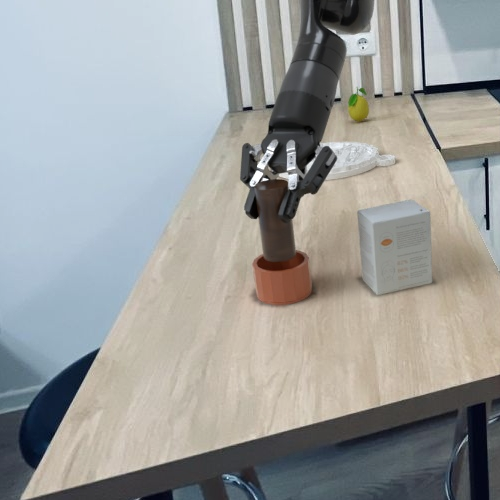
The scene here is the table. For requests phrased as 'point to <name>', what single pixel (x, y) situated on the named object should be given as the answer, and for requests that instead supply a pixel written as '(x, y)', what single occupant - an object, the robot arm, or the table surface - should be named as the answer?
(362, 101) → the lemon
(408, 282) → the small box
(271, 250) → the peg
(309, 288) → the socket cup
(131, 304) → the table surface
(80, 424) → the table surface
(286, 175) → the medallion
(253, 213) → the robot arm
